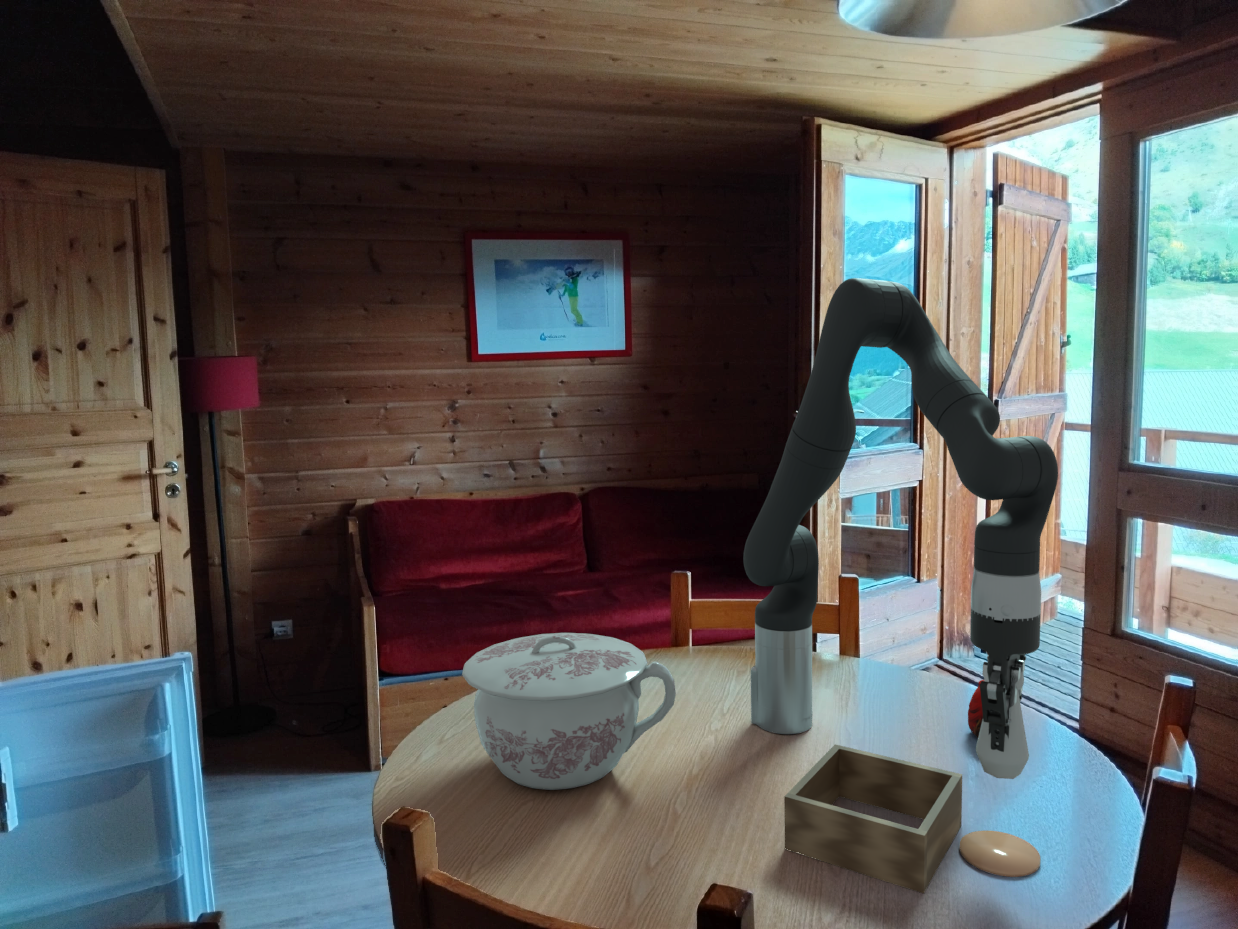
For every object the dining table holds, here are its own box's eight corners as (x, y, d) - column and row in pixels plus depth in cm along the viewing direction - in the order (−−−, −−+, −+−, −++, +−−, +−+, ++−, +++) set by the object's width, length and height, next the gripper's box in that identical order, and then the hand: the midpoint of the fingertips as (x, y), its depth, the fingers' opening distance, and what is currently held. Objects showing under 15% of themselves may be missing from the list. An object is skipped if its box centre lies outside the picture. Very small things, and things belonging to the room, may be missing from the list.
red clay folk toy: (1025, 737, 139) (1028, 645, 137) (1005, 751, 134) (1007, 656, 132) (979, 723, 144) (980, 634, 142) (957, 736, 140) (959, 645, 138)
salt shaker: (1033, 784, 102) (1036, 677, 101) (981, 781, 103) (983, 675, 102) (1020, 761, 108) (1023, 659, 106) (971, 758, 109) (973, 657, 107)
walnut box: (784, 849, 109) (784, 796, 109) (834, 791, 123) (834, 744, 122) (923, 893, 100) (924, 835, 99) (961, 825, 114) (962, 774, 113)
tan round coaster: (951, 862, 106) (951, 857, 106) (969, 828, 113) (969, 823, 113) (1032, 885, 101) (1032, 880, 101) (1046, 848, 108) (1046, 843, 108)
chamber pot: (430, 774, 132) (422, 641, 130) (562, 716, 152) (558, 599, 150) (557, 839, 113) (551, 685, 111) (690, 763, 133) (687, 631, 131)
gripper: (985, 588, 111) (982, 719, 113) (956, 618, 100) (954, 763, 102) (1050, 596, 107) (1046, 732, 109) (1028, 628, 95) (1024, 779, 97)
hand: (1001, 746), depth 105 cm, fingers closed on salt shaker, 3 cm apart
